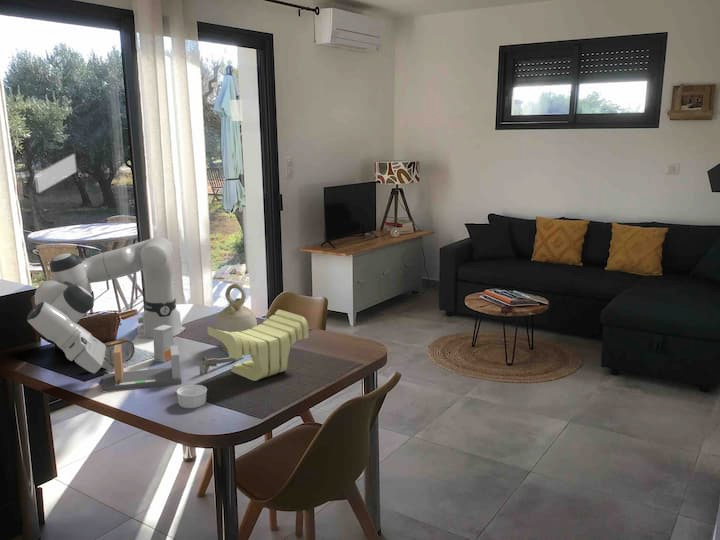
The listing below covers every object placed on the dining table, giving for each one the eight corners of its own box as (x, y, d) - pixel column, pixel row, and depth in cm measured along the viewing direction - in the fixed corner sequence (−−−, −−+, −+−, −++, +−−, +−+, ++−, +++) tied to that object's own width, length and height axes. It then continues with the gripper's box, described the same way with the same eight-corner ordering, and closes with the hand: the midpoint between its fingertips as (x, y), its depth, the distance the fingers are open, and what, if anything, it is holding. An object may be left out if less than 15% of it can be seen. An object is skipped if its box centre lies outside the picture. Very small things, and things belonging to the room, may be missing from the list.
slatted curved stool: (238, 390, 196) (236, 336, 193) (209, 377, 207) (207, 326, 203) (308, 366, 218) (308, 317, 214) (279, 356, 228) (278, 309, 225)
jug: (233, 339, 247) (231, 278, 242) (265, 345, 240) (264, 282, 235) (208, 350, 234) (205, 286, 228) (241, 357, 227) (239, 290, 222)
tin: (131, 357, 226) (129, 335, 224) (136, 359, 224) (135, 337, 222) (93, 369, 214) (91, 346, 212) (98, 371, 212) (96, 347, 210)
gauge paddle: (115, 385, 195) (112, 354, 193) (116, 373, 205) (114, 344, 203) (121, 384, 196) (119, 354, 194) (123, 373, 205) (121, 344, 203)
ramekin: (198, 395, 193) (197, 382, 192) (213, 403, 187) (212, 390, 186) (171, 403, 187) (171, 389, 186) (186, 412, 181) (185, 398, 180)
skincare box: (164, 362, 221) (162, 330, 218) (154, 361, 222) (152, 329, 220) (174, 357, 226) (173, 325, 224) (164, 355, 228) (163, 324, 225)
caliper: (202, 376, 209) (201, 358, 208) (199, 375, 209) (199, 357, 208) (244, 359, 226) (243, 342, 224) (241, 358, 226) (241, 342, 225)
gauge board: (101, 391, 194) (99, 363, 193) (104, 378, 206) (102, 350, 204) (181, 383, 202) (180, 355, 200) (179, 370, 213) (178, 344, 211)
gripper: (73, 339, 204) (107, 365, 209) (65, 360, 185) (103, 387, 190) (87, 325, 205) (121, 351, 210) (81, 344, 186) (118, 372, 191)
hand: (112, 368), depth 200 cm, fingers closed
